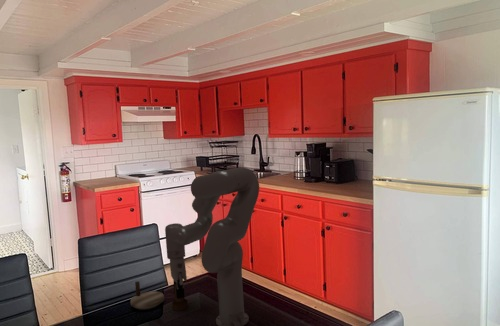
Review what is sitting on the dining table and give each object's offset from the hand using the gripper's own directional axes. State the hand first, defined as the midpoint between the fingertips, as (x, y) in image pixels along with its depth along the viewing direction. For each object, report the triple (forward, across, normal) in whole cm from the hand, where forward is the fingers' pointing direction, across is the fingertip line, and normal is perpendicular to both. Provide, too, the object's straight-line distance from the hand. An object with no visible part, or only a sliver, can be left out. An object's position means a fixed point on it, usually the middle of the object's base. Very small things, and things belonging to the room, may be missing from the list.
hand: (179, 295), depth 163 cm
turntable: (+4, +10, +12) cm, 16 cm away
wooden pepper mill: (+5, 0, 0) cm, 5 cm away
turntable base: (+5, +10, +12) cm, 16 cm away
